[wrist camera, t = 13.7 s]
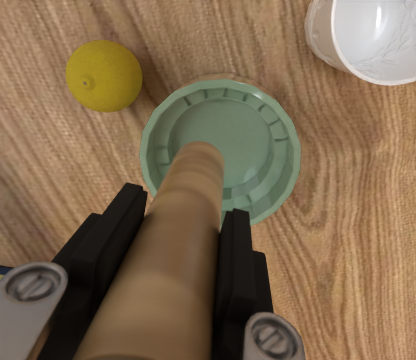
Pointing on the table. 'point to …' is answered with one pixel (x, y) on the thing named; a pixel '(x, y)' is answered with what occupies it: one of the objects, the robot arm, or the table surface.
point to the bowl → (227, 140)
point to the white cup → (365, 38)
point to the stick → (167, 270)
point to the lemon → (104, 76)
